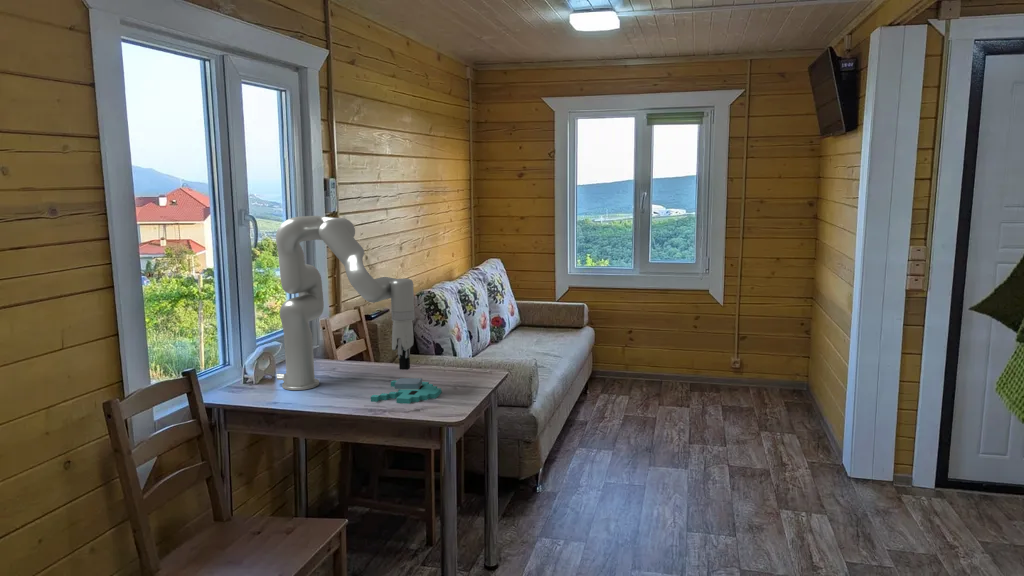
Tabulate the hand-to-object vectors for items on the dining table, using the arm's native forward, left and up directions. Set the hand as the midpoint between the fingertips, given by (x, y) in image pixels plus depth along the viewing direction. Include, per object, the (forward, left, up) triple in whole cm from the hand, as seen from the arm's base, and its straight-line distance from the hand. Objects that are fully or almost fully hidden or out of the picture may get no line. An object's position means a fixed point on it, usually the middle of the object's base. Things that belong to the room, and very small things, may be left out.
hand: (404, 369), depth 235 cm
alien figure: (+2, 0, -9) cm, 10 cm away
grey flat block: (+4, +3, -6) cm, 8 cm away
